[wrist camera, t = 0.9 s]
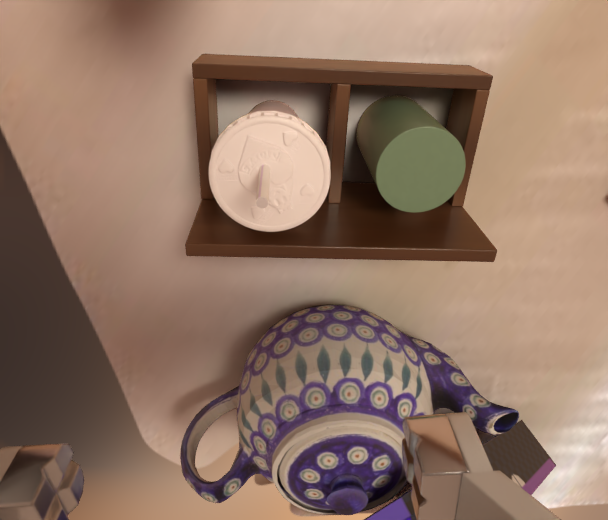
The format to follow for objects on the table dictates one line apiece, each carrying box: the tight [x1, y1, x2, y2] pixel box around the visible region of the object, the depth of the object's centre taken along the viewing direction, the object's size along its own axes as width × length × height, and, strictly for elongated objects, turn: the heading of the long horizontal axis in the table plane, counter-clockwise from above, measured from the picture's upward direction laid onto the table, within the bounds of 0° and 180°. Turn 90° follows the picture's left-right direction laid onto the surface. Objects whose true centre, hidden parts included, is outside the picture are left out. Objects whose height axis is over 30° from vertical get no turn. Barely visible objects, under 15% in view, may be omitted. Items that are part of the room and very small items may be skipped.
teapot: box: [180, 305, 519, 515], centre depth 37 cm, size 25×15×15 cm, turn 103°
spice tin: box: [357, 95, 466, 213], centre depth 30 cm, size 5×5×8 cm
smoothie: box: [209, 100, 331, 232], centre depth 27 cm, size 6×6×14 cm
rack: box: [185, 54, 497, 262], centre depth 29 cm, size 9×17×10 cm, turn 87°
